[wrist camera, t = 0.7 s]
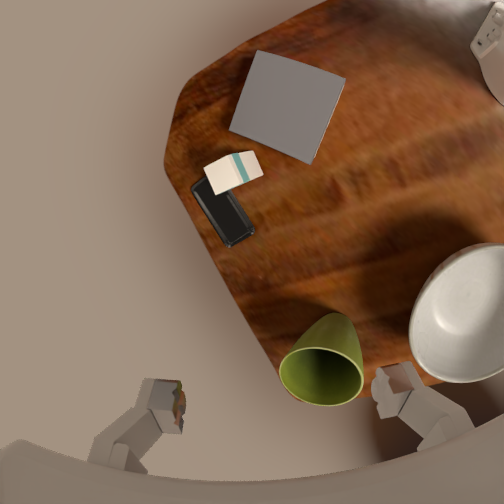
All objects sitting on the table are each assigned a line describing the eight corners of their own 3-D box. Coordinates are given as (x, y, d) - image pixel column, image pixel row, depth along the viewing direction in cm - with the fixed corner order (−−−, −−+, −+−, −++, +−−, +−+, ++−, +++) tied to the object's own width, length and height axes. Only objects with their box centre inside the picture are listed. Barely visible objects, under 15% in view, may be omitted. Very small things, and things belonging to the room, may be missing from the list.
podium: (267, 56, 44) (257, 50, 40) (348, 84, 42) (345, 78, 37) (241, 129, 52) (228, 130, 48) (316, 161, 49) (310, 164, 45)
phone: (227, 248, 63) (189, 188, 61) (230, 247, 63) (192, 187, 62) (256, 232, 58) (215, 168, 56) (258, 230, 59) (217, 167, 57)
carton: (252, 150, 53) (227, 154, 44) (263, 174, 54) (240, 184, 46) (230, 160, 55) (202, 167, 47) (241, 184, 57) (215, 195, 48)
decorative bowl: (414, 215, 45) (423, 238, 35) (535, 227, 35) (564, 252, 25) (396, 340, 55) (394, 380, 45) (501, 344, 45) (513, 382, 34)
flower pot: (383, 314, 54) (379, 368, 41) (352, 362, 62) (339, 415, 48) (317, 285, 58) (295, 333, 45) (294, 337, 65) (269, 386, 52)
